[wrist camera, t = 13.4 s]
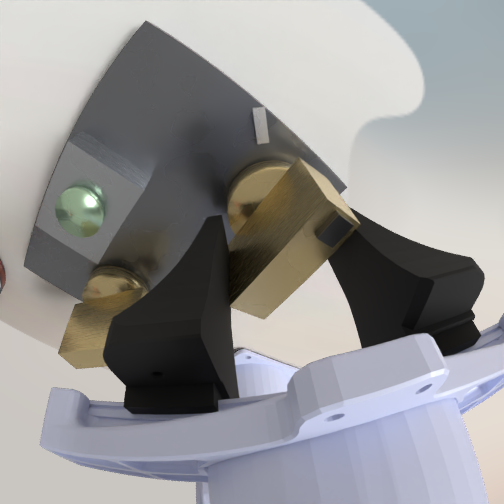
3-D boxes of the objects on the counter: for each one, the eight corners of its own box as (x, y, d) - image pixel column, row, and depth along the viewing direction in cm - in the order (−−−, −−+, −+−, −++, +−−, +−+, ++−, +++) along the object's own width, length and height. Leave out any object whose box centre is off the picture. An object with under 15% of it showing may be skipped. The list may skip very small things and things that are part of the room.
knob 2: (270, 255, 15) (288, 333, 11) (204, 221, 14) (200, 301, 10) (336, 181, 13) (384, 246, 9) (269, 132, 11) (299, 182, 7)
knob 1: (104, 318, 17) (88, 383, 13) (70, 277, 15) (41, 345, 11) (169, 303, 17) (161, 377, 13) (137, 255, 14) (115, 333, 11)
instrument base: (340, 178, 14) (363, 207, 12) (170, 332, 21) (167, 366, 18) (151, 22, 9) (131, 13, 6) (29, 256, 15) (11, 287, 13)
